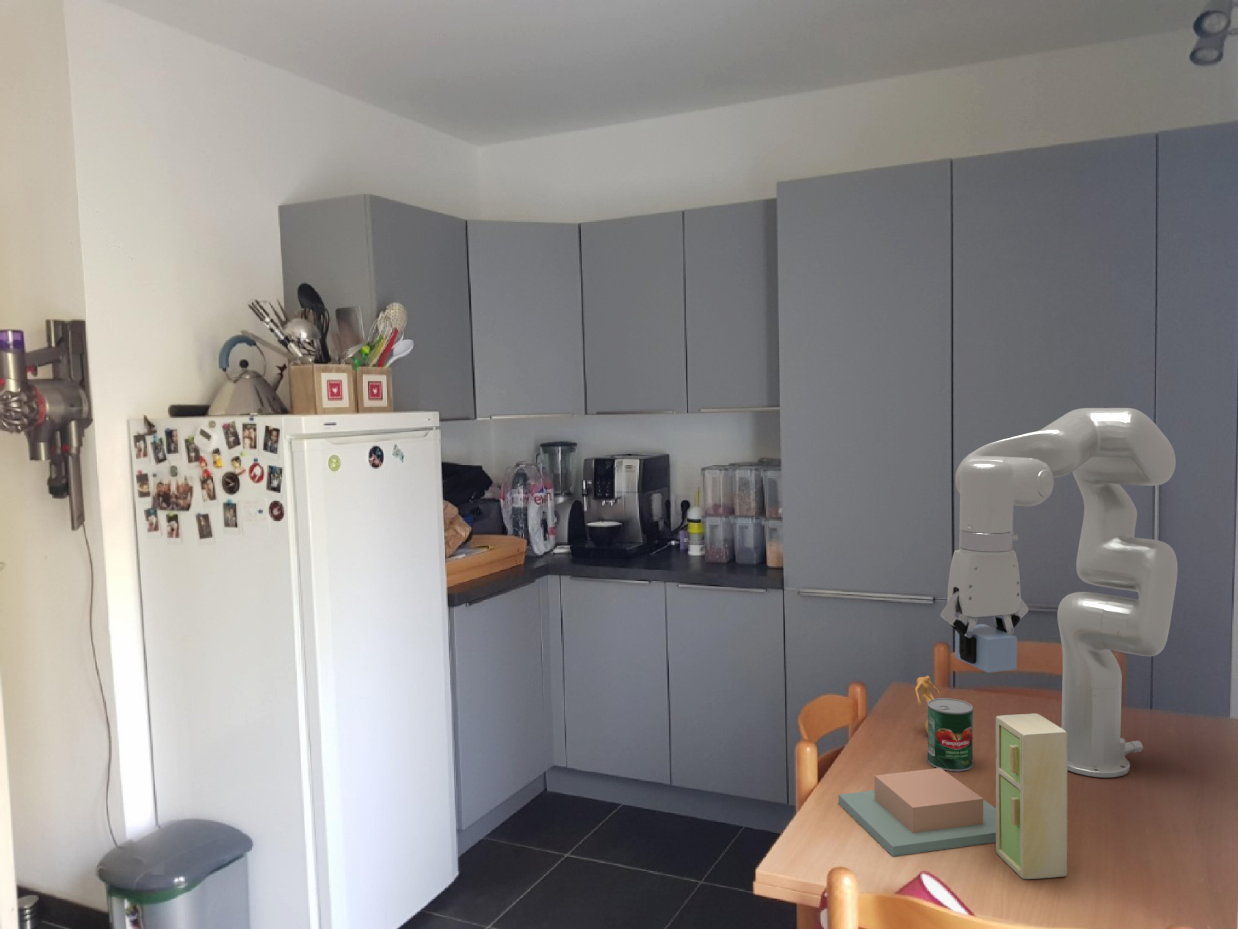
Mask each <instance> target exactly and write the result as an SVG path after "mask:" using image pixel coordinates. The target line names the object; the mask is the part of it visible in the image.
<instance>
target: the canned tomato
mask: <svg viewBox="0 0 1238 929" xmlns="http://www.w3.org/2000/svg"><path fill="white" fill-rule="evenodd" d="M927 707H928V713H927V720H928V732H927V763H928V764H929V765H930V766H932V767H933V768H935V767H936V768H941V769H943V770H944V771H945V770H946V771H945V772H953V771H954V772H966V770H967V771H969V770H971V769H972V768H973V765H974V763H973V759H974V758H973V751H974V750H973V748H974V747H973V744H974V741H973V739H974V736H973V734H974V733H973V731H974V728H973V727H974V726H973V724H974V723H973V722H974V721H973V719H974V712H973V710H974V706H973V705H972V704H971V703H969V702H967V701H965V700H962V699H956V698H949V697H947V698H946V697H938V698H934V699H933V700H930V701H929V702H928V704H927Z"/></svg>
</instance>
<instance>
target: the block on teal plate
mask: <svg viewBox="0 0 1238 929" xmlns="http://www.w3.org/2000/svg"><path fill="white" fill-rule="evenodd" d="M838 805H839V806H841V807H842V808H843V809H844V810H845V812H847V813H848V814H849V816H851V817H852V818H853V819H854V820H855V821H856V822H857V823H858V824H859V825H860V826H861V827H862V828H863V829H864V828H865V829H864V830H865V831H866V832H867V833H868V834H870V836H871V837H872V838H873V839H874V838H875V839H874V840H875V841H876V842H877V843H878V844H879V845H880V846H881V847H883V848H884V849H885V850H886V851H887V852H888V853H889V854H890V856H892V857H897V856H905V855H913V854H920V852H921V853H926V852H935V851H940V850H941V851H942V850H948V849H956V848H962V847H964V848H965V847H971V846H977V845H978V846H979V845H985V844H990V843H991V844H992V843H996V807H995V806H993V805H991V804H990V803H988V801H986V800H985V799H984V798H983V797H982V796H980V795H979V794H977V793H976V792H975V791H973V790H972V789H970V788H969V787H968V786H966V785H965V784H963V783H962V782H961V781H960V780H958V779H957V778H955V777H954V776H952V775H951V774H949V772H948V771H945V770H943V769H941V768H935V767H934V768H927V769H920V770H911V771H902V772H893V773H892V772H891V773H885V774H877V775H874V789H873V790H866V791H858V792H857V791H856V792H849V793H848V792H847V793H841V794H838ZM918 852H919V853H918Z"/></svg>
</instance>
